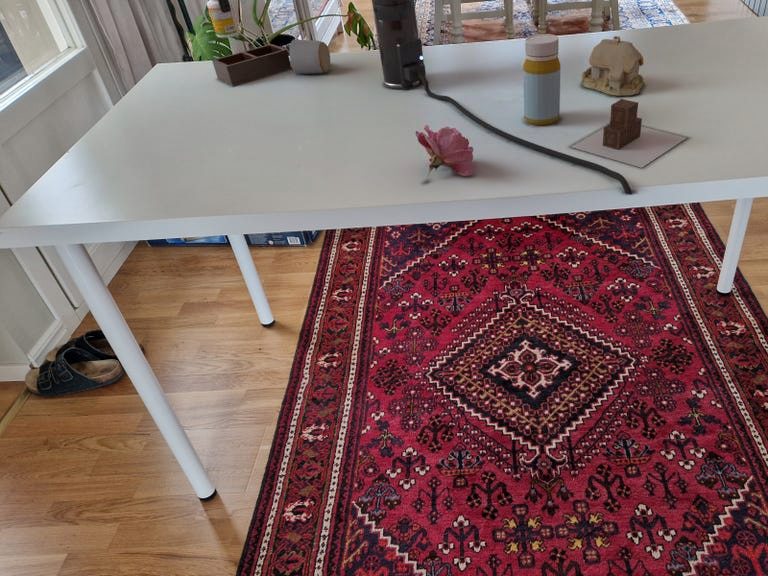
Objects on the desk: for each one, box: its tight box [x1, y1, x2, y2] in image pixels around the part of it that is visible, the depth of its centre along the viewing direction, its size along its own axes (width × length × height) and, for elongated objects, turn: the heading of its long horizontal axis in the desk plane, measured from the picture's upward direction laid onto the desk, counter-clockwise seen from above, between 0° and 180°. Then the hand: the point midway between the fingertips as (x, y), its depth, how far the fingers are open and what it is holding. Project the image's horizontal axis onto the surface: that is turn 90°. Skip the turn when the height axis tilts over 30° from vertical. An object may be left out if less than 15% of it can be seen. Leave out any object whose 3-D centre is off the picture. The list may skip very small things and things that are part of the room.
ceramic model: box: [581, 35, 645, 97], centre depth 136 cm, size 14×11×10 cm
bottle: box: [522, 33, 561, 126], centre depth 123 cm, size 7×7×15 cm
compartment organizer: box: [211, 43, 293, 87], centre depth 161 cm, size 9×16×5 cm, turn 132°
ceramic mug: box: [289, 38, 331, 75], centre depth 159 cm, size 11×8×8 cm
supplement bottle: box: [206, 0, 240, 39], centre depth 151 cm, size 5×5×10 cm
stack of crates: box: [571, 98, 687, 169], centre depth 115 cm, size 15×15×7 cm
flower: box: [414, 124, 474, 183], centre depth 111 cm, size 11×10×10 cm
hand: (220, 9), depth 150 cm, fingers closed on supplement bottle, 5 cm apart
